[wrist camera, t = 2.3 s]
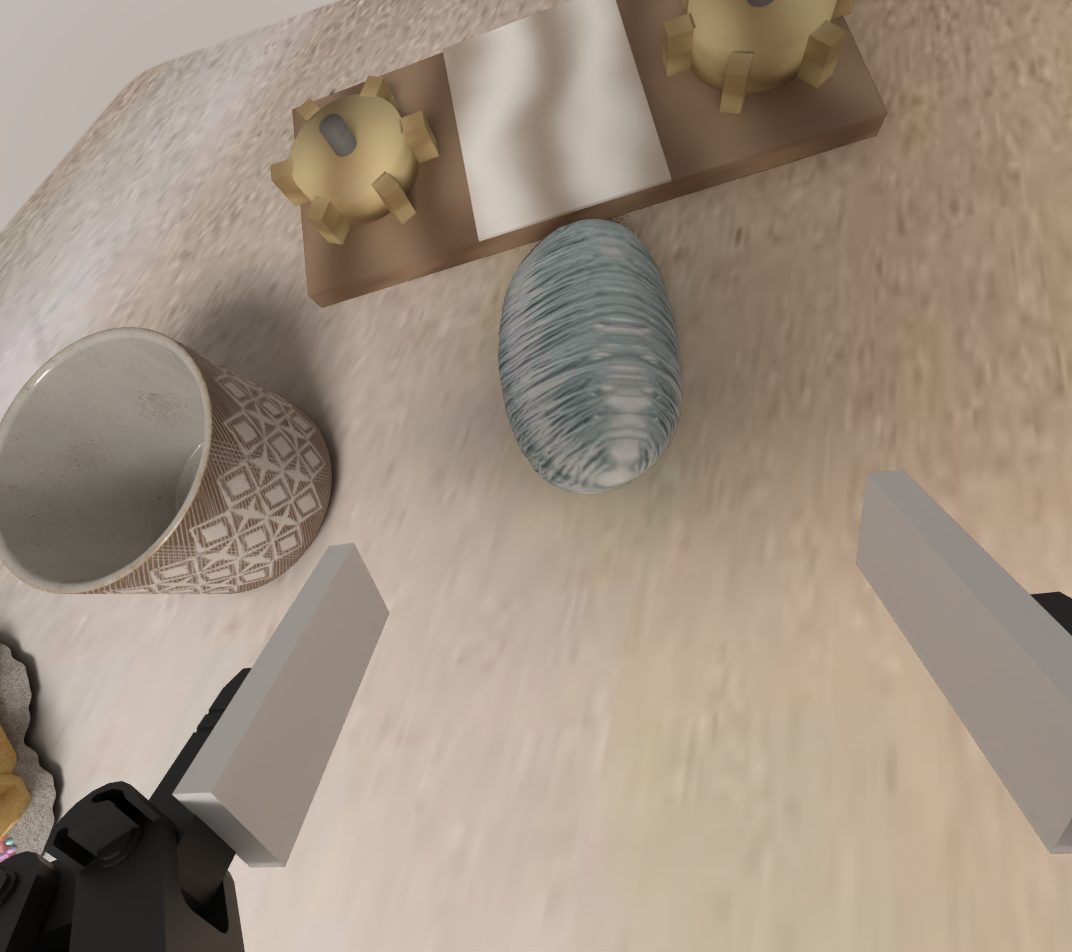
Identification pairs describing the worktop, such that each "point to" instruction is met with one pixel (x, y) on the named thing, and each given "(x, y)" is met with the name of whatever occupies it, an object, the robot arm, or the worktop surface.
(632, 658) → the worktop surface
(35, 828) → the candy landscape model
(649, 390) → the grey streaked egg
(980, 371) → the worktop surface
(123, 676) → the worktop surface
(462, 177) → the gear board
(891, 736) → the worktop surface
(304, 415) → the planter
